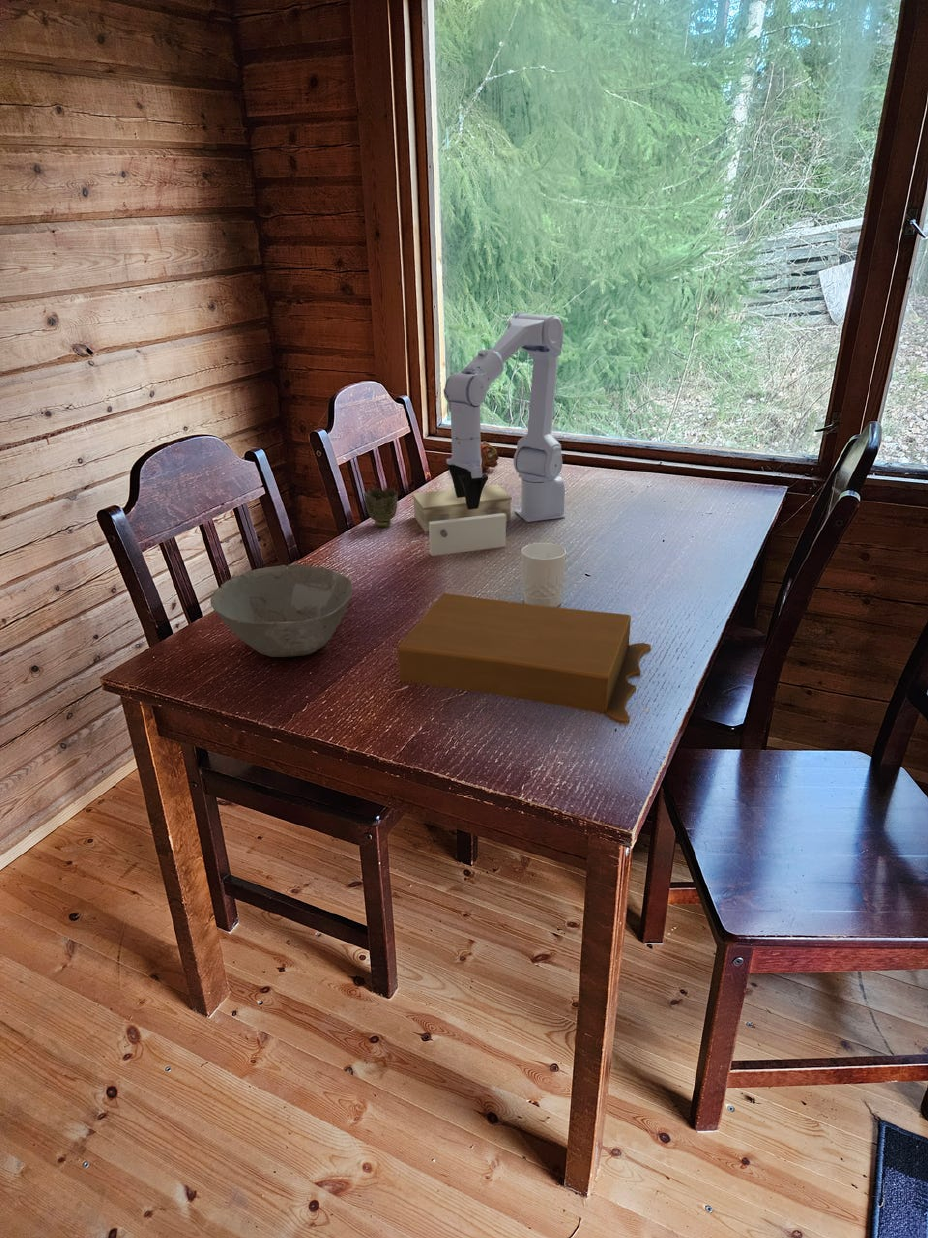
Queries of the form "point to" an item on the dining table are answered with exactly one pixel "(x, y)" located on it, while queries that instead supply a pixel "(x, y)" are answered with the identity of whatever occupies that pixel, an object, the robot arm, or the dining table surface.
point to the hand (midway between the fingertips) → (467, 502)
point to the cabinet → (459, 505)
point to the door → (467, 534)
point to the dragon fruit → (488, 456)
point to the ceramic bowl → (284, 607)
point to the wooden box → (525, 653)
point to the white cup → (543, 573)
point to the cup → (381, 505)
